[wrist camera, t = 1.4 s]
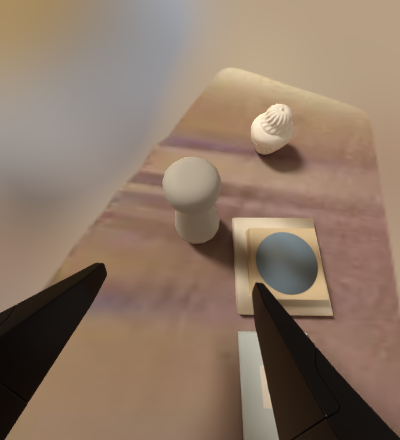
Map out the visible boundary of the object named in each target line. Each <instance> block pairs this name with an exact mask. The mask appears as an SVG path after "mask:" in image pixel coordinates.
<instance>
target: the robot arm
mask: <svg viewBox="0 0 400 440" xmlns="http://www.w3.org/2000/svg"><path fill="white" fill-rule="evenodd" d="M106 276H107V272H106V268H105V265H104V264H103V263H94V264H93V265H91V266H89V267H87V268H85V269H83V270H81V271H79V272H77V273H75V274H74V275H72V276H70V277H68V278H66V279H64V280H62V281H60V282H58V283H56V284H55V285H53V286H51V287H49V288H47V289H45V290H43V291H41V292H39V293H37V294H36V295H34V296H32V297H30V298H28V299H26V300H24V301H22V302H20V303H18V304H17V305H15V306H13V307H11V308H9V309H7V310H5V311H3V312H1V313H0V440H5V438H6V437H7V435H8V434H9V432H10V430H11V429H12V427H13V426H14V424H15V423H16V421H17V420H18V418H19V416H20V415H21V413H22V412H23V410H24V409H25V407H26V406H27V404H28V402H29V401H30V399H31V398H32V396H33V394H34V393H35V391H36V390H37V388H38V387H39V385H40V384H41V382H42V381H43V379H44V377H45V376H46V374H47V373H48V371H49V370H50V368H51V367H52V365H53V363H54V362H55V360H56V359H57V357H58V356H59V354H60V353H61V351H62V349H63V348H64V346H65V345H66V343H67V342H68V340H69V339H70V337H71V335H72V334H73V332H74V331H75V329H76V328H77V326H78V325H79V323H80V321H81V320H82V318H83V317H84V315H85V314H86V312H87V311H88V309H89V308H90V306H91V304H92V303H93V301H94V299H95V297H96V296H97V294H98V292H99V290H100V288H101V286H102V284H103V282H104V280H105V278H106ZM252 301H253V311H254V320H255V327H256V332H257V337H258V342H259V346H260V351H261V356H262V361H263V366H264V370H265V375H266V380H267V385H268V390H269V394H270V399H271V404H272V409H273V413H274V418H275V423H276V428H277V433H278V437H279V440H400V437H398V436H397V435H396V434H395V432H394V431H393V430H392V429H391V428H390V427H389V426H388V425H387V424H386V423H385V422H384V421H383V420H382V419H381V418H380V417H379V416H378V415H377V414H376V412H375V411H374V410H373V409H372V408H371V407H370V406H369V405H368V404H367V403H366V402H365V401H364V400H363V399H362V398H361V396H360V395H359V394H358V393H357V392H356V391H355V390H354V389H353V388H352V387H351V386H350V385H349V384H348V383H347V381H346V380H345V379H344V378H343V377H342V376H341V375H340V374H339V373H338V372H337V370H336V369H335V368H334V367H333V366H332V365H331V363H330V362H329V361H328V360H327V359H326V358H325V357H324V355H323V354H322V353H321V352H320V351H319V349H318V348H317V347H316V346H315V345H314V343H313V342H312V341H311V340H310V339H309V337H308V336H307V335H306V334H305V333H304V331H303V330H302V329H301V328H300V327H299V325H298V324H297V323H296V322H295V321H294V319H293V318H292V317H291V316H290V315H289V313H288V312H287V311H286V310H285V309H284V307H283V306H282V305H281V304H280V303H279V301H278V300H277V299H276V298H275V297H274V295H273V294H272V293H271V292H270V291H269V289H268V288H267V287H266V286H265V285H264V284H263V283H259V282H256V283H255V285H254V288H253V291H252Z"/></svg>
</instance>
